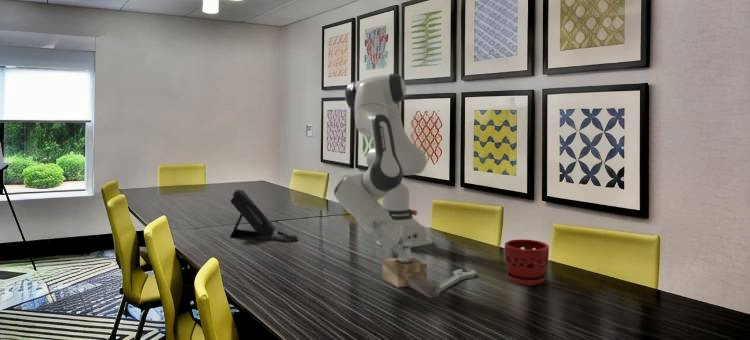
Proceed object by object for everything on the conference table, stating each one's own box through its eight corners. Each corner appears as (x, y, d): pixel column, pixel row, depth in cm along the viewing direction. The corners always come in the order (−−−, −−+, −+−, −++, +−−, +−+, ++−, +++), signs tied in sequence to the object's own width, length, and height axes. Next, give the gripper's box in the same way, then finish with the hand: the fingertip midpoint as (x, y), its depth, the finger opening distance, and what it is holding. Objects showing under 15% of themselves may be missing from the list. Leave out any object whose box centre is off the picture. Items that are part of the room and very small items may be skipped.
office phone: (296, 242, 217) (296, 193, 215) (224, 243, 214) (224, 193, 212) (300, 228, 246) (300, 184, 244) (237, 228, 243) (236, 184, 242)
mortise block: (409, 274, 172) (410, 256, 172) (449, 294, 153) (449, 274, 152) (382, 278, 168) (382, 259, 167) (419, 299, 148) (419, 278, 148)
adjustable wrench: (436, 295, 153) (437, 289, 153) (418, 291, 157) (418, 285, 157) (478, 276, 173) (478, 270, 173) (460, 272, 177) (460, 267, 177)
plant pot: (499, 275, 173) (500, 238, 172) (540, 276, 173) (542, 239, 172) (508, 287, 160) (509, 247, 159) (553, 288, 160) (554, 248, 159)
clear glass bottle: (406, 271, 168) (407, 240, 167) (414, 275, 164) (414, 243, 163) (394, 273, 166) (394, 241, 165) (401, 277, 162) (402, 244, 161)
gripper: (378, 218, 154) (412, 253, 154) (386, 207, 174) (415, 238, 174) (363, 233, 155) (396, 268, 155) (372, 220, 175) (401, 251, 175)
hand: (406, 252), depth 165 cm, fingers open, 8 cm apart
